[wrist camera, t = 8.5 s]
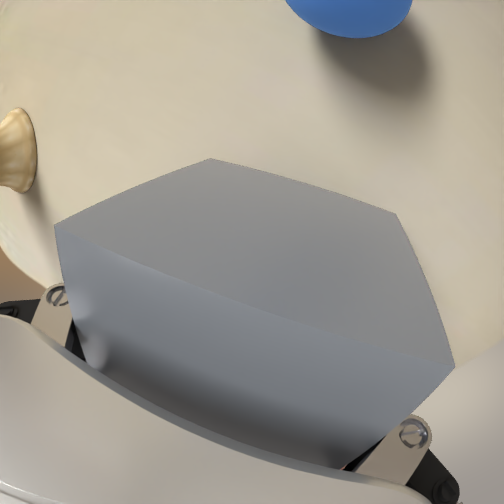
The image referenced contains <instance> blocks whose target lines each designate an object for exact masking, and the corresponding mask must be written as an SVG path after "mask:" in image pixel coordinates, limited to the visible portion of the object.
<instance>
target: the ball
mask: <svg viewBox="0 0 504 504" xmlns="http://www.w3.org/2000/svg"><path fill="white" fill-rule="evenodd" d="M286 2H287V4H288V5H289V6H290V7H291V9H292V10H293V11H294V12H295V13H296V14H297V15H298V16H299V17H300V18H302V19H303V20H304V21H306V22H307V23H309V24H310V25H312V26H313V27H315V28H317V29H319V30H321V31H324V32H327V33H329V34H333V35H336V36H341V37H348V38H367V37H373V36H378V35H380V34H383V33H386V32H387V31H389V30H391V29H393V28H395V27H396V26H397V25H399V23H400V22H401V21H402V20H403V19H404V18H405V17H406V15H407V14H408V12H409V9H410V7H411V4H412V0H286Z"/></svg>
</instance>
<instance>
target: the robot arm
mask: <svg viewBox="0 0 504 504" xmlns="http://www.w3.org/2000/svg"><path fill="white" fill-rule="evenodd" d="M431 441H432V434H431V430H430V427H429V426H428V424H427V423H426V422H425V421H424V420H423V419H422V418H420V417H419V416H416V415H412V414H410V415H409V416H408V417H406V418H405V419H404V420H403V421H402V422H401V423H400V424H399V425H397V426H396V427H395V428H394V429H393V430H392V431H390V432H389V433H388V434H387V435H386V436H384V437H383V438H382V439H381V440H380V441H378V442H377V443H376V444H374V445H373V446H372V447H371V448H369V449H368V450H367V451H365V452H364V453H363V454H361V455H360V456H359V457H357V458H356V459H354V460H353V461H352V462H350V463H349V464H347V465H346V466H344V467H343V468H341V469H340V470H338V469H334V468H329V467H324V466H320V465H316V464H312V463H308V462H304V461H300V460H296V459H292V458H289V457H285V456H282V455H278V454H275V453H271V452H268V451H265V450H262V449H259V448H256V447H253V446H250V445H247V444H244V443H242V442H239V441H236V440H233V439H231V438H228V437H226V436H223V435H220V434H218V433H215V432H213V431H211V430H208V429H206V428H203V427H201V426H199V425H197V424H194V423H192V422H190V421H188V420H186V419H183V418H181V417H179V416H177V415H175V414H173V413H171V412H169V411H167V410H165V409H163V408H161V407H159V406H157V405H155V404H153V403H151V402H150V401H148V400H146V399H144V398H142V397H140V396H139V395H137V394H135V393H133V392H132V391H130V390H128V389H126V388H125V387H123V386H121V385H120V384H118V383H116V382H115V381H113V380H112V379H110V378H108V377H107V376H105V375H104V374H102V373H101V372H99V371H97V370H96V369H94V368H93V367H91V366H90V365H89V364H87V361H86V358H85V356H84V353H83V350H82V347H81V344H80V341H79V337H78V334H77V331H76V328H75V324H74V321H73V317H72V314H71V310H70V306H69V302H68V298H67V294H66V290H65V285H64V283H59V284H55V285H53V286H51V287H49V288H48V289H47V290H46V291H45V292H44V294H43V296H42V298H41V299H36V300H21V301H8V302H4V303H1V304H0V504H463V503H462V502H461V503H458V502H457V501H458V498H459V485H458V483H457V481H456V480H455V478H454V477H453V476H452V475H451V474H450V473H449V471H448V470H447V469H446V468H445V467H444V466H443V465H442V463H441V462H440V461H439V460H438V459H437V458H436V457H435V455H434V454H433V453H432V452H431V451H430V450H429V446H430V443H431Z"/></svg>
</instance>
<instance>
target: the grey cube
mask: <svg viewBox="0 0 504 504" xmlns="http://www.w3.org/2000/svg"><path fill="white" fill-rule="evenodd" d="M54 229H55V236H56V243H57V249H58V255H59V261H60V266H61V271H62V276H63V281H64V285H65V290H66V294H67V298H68V302H69V306H70V310H71V314H72V317H73V321H74V324H75V328H76V331H77V334H78V337H79V341H80V344H81V347H82V350H83V353H84V356H85V358H86V361H87V364H89V365H90V366H91V367H93V368H94V369H96V370H97V371H99V372H101V373H102V374H104V375H105V376H107V377H108V378H110V379H112V380H113V381H115V382H116V383H118V384H120V385H121V386H123V387H125V388H126V389H128V390H130V391H132V392H133V393H135V394H137V395H139V396H140V397H142V398H144V399H146V400H148V401H150V402H151V403H153V404H155V405H157V406H159V407H161V408H163V409H165V410H167V411H169V412H171V413H173V414H175V415H177V416H179V417H181V418H183V419H186V420H188V421H190V422H192V423H194V424H197V425H199V426H201V427H203V428H206V429H208V430H211V431H213V432H215V433H218V434H220V435H223V436H226V437H228V438H231V439H233V440H236V441H239V442H242V443H244V444H247V445H250V446H253V447H256V448H259V449H262V450H265V451H268V452H271V453H275V454H278V455H282V456H285V457H289V458H292V459H296V460H300V461H304V462H308V463H312V464H316V465H320V466H324V467H329V468H334V469H338V470H340V469H341V468H343V467H344V466H346V465H347V464H349V463H350V462H352V461H353V460H354V459H356V458H357V457H359V456H360V455H361V454H363V453H364V452H365V451H367V450H368V449H369V448H371V447H372V446H373V445H374V444H376V443H377V442H378V441H380V440H381V439H382V438H383V437H384V436H386V435H387V434H388V433H389V432H390V431H392V430H393V429H394V428H395V427H396V426H397V425H399V424H400V423H401V422H402V421H403V420H404V419H405V418H406V417H408V416H409V415H410V414H411V413H412V412H413V411H414V410H415V409H416V408H417V407H418V406H419V405H420V404H421V403H422V402H423V401H424V400H425V399H426V398H427V397H428V396H429V395H430V394H431V393H432V392H433V391H434V390H435V389H436V388H437V387H438V386H439V385H440V383H441V382H442V381H443V380H444V379H445V378H446V377H447V376H448V375H449V374H450V372H451V371H452V370H453V369H454V368H455V363H454V359H453V356H452V352H451V349H450V345H449V342H448V339H447V336H446V333H445V329H444V326H443V323H442V320H441V317H440V315H439V312H438V309H437V306H436V303H435V301H434V298H433V295H432V293H431V290H430V288H429V285H428V283H427V280H426V278H425V275H424V273H423V271H422V268H421V266H420V264H419V261H418V259H417V257H416V255H415V252H414V250H413V248H412V246H411V244H410V241H409V239H408V237H407V235H406V233H405V231H404V229H403V227H402V225H401V223H400V221H399V219H398V217H397V215H396V214H395V213H392V212H389V211H387V210H384V209H381V208H378V207H376V206H373V205H370V204H367V203H364V202H362V201H359V200H356V199H353V198H350V197H347V196H344V195H341V194H338V193H335V192H332V191H329V190H325V189H322V188H319V187H316V186H313V185H309V184H306V183H303V182H299V181H296V180H292V179H289V178H285V177H282V176H278V175H275V174H271V173H267V172H264V171H260V170H256V169H252V168H248V167H244V166H240V165H236V164H232V163H228V162H224V161H220V160H215V159H211V158H210V159H207V160H204V161H202V162H199V163H196V164H193V165H190V166H187V167H185V168H182V169H179V170H176V171H174V172H171V173H168V174H166V175H163V176H161V177H158V178H156V179H153V180H151V181H148V182H146V183H143V184H141V185H138V186H136V187H134V188H131V189H129V190H126V191H124V192H122V193H120V194H117V195H115V196H113V197H111V198H108V199H106V200H104V201H102V202H100V203H97V204H95V205H93V206H91V207H89V208H87V209H85V210H83V211H81V212H79V213H77V214H75V215H73V216H71V217H69V218H67V219H65V220H63V221H61V222H59V223H57V224H55V225H54Z"/></svg>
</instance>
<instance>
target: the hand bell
mask: <svg viewBox="0 0 504 504" xmlns="http://www.w3.org/2000/svg"><path fill="white" fill-rule="evenodd" d="M36 163H37V151H36V141H35V135H34V130H33V126H32V123H31V121H30V118H29V116H28V115H27V113H26V112H25V111H24V110H23V109H21V108H15V109H13V110H12V111H10V112H9V113H8V114H7V115H6V117H5V118H4V120H3V121H2V123H1V124H0V186H6V187H10V188H11V189H12V190H14V191H16V192H20V193H23V192H26V191H28V190H29V188H30V187H31V186H32V183H33V181H34V177H35V172H36Z"/></svg>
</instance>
